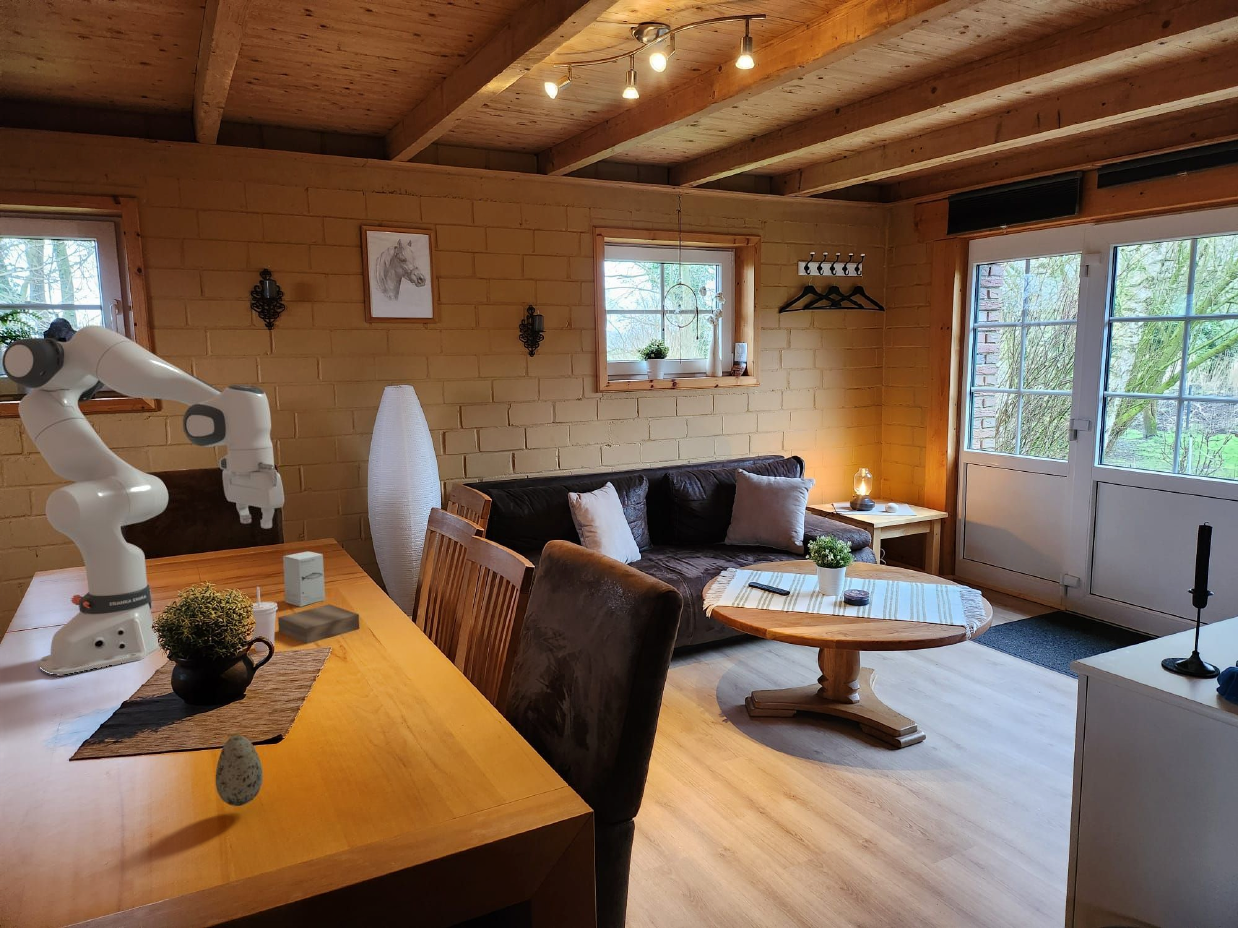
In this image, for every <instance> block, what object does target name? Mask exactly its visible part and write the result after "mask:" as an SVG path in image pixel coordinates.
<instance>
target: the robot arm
mask: <svg viewBox="0 0 1238 928" xmlns="http://www.w3.org/2000/svg"><path fill="white" fill-rule="evenodd" d="M1 361H2V362H1V363H2V369H3V371H4V374H5V376H6V377H7V378H8V379H9V380H10V381H12V382H14V383H15V384H17V385H20V386H22V387H26V388H29V389H32V391H31V392H29V393H27V394H26V395H24V397H22V399H21V400H20V402H19V404H18V409H17V410H18V413H19V417H20V419H21V421H22V423H23V426H24V429H25V430H26V432H27V434H28V436H29V438H30V440H31V441H32V443H33V444H34V446H35V447H36V448H37V450H38V452H40V454H41V456H42V457H43V459H44V460H45V461H46V463H47V465H48V466H49V467H50V469H51V470H52V471H53V473H55V475H57V476H58V477H61V478H64V479H65V480H69V481H73V482H75V483H72V484H69V485H66V486H63V487H60V488H57V489H55V490H54V491H52V493H50V494H49V496H48V499H47V501H46V504H45V515H46V519H47V521H48V523H49V524H50V526H52V528H53V529H55V530H56V531H57V532H59V533H61V534H62V535H65V536H66V537H68V538H69V539H71V540H72V541H73V543H74V544H75V545H76V547H77V549H78V550H79V552H80V554H81V556H82V559H83V562H84V567H85V574H86V579H87V588H88V592H87V593H86V594H84V595H83V596H82V595H80V594H75V595H73V596H72V597H71V598H70V599H71V600H70V602H71V603H72V604H73V605H75V606H78V609H79V612H78V613H76V615H75V616H74V617H72V618H71V619H70V620H69V621H68V622H66V623H65V624H64V625H63V626H62V627H61V628H59V629H58V630H57V631H56V632H55V633H54V635H53V636H52V639H51V644H50V654H48V655H46V656H43V657H42V658H41V659H39V662H38V666H39V665H40V667H41V668H42V669H43V670H45V671H47V672H49V673H53V674H59V675H58V676H63V675H62V674H67V673H73V674H75V673H74V672H77V671H83V670H88V671H91V670H90V669H92V668H97V669H102V668H107V667H110V666H109V665H112V666H116V665H117V666H118V665H120V664H121V663H122V664H125V663H126V664H127V663H131V662H136V661H141V660H144V659H145V658H146V657H147V656H148V655H149V654H150V653H153V652H154V651H156V650H158V649H159V648H160V647H159V646H158V639H159V637H158V638H157V637H156V634H157V633H156V634H155V633H154V632H153V631H152V628H151V627H152V624H154V621H153V617H152V611H151V609H152V601H153V600H152V593H151V592H152V591H151V588H150V587H151V586H150V584H148V581H147V579H148V577H147V568H146V556H145V553H144V551H143V550H142V548H140V547H138V546H136V545H134V544H132V543H129V542H127V541H126V539H125V538H124V535H123V534H122V529H121V528H122V527H125V526H128V525H132V524H133V525H134V524H138V523H143V522H145V521H147V520H150V519H152V518H155V517H156V516H158V515H160V514H161V513H163V512H164V511H165V510H166V508H167V506H168V503H169V491H168V489H167V487H166V485H165V483H164V482H163V480H162V479H161V478H159V477H158V476H155V475H153V474H150V473H146V472H144V471H141V470H139V469H137V468H135V467H134V466H133V465H131V464H129V463H128V462H126V461H125V460H123V459H122V458H120V457H119V456H118V455H117V454H115V453H114V452H113V451H112V450H111V449H110V448H109V447H108V446H107V445H106V443H105V442H103V440H102V439H101V437H100V436H99V435H98V433H97V432H96V431H95V429H94V428H93V426H92V425H91V423H90V422H89V420H87V418H86V417H85V415H84V414H83V412H81V410H80V407H79V403H84V402H88V401H90V400H91V399H92V398H93V396H94V395H95V394H96V393H98V392H100V391H101V390H102V389H103V387H104V386H106V387H108V388H109V389H111V390H113V391H115V392H116V393H120V394H122V395H125V396H127V397H131V398H137V399H139V398H140V399H153V400H154V399H155V400H156V399H157V400H166V401H167V400H168V401H175V402H179V403H183V404H185V405H187V406H189V407H188V408H187V410H185V412H184V415H183V419H182V428H183V431H184V434H185V437H186V438H187V440H188V441H190V442H191V443H192V444H193V445H196V446H199V447H205V448H206V447H207V448H209V447H210V448H211V447H219V446H222V447H223V446H226V447H227V448H226V449H227V450H226V451H227V453H226V454H225V455H224V456H223V457H221V458H220V459H219V468H220V470H222V486H223V492H224V496H225V498H226V500H227V501H228V502H231V503H236V504H235V505H236V506H235V507H236V510H237V513H238V514H239V520H240V523H242V524H244V525H245V524H251V523H252V514H250V511H249V506H252V507H256V508H260V510H261V513H262V519H260V527H261V528H262V529H271V528H272V527H273V518H274V514H275V509H279V508H282V507H283V506H284V504H285V495H284V494H285V493H284V487H283V481H282V477H281V475H280V473H279V472H277V470H276V469H275V458H274V447H273V442H272V439H271V430H272V419H271V411H270V405H269V400H268V399H269V398H268V397H267V395H266V392H265V391H264V390H263V389H261V387H257V386H253V385H243V384H232V385H231V384H230V385H228V386H227V387H225V388H224V390H223V391H222V390H221V389H219V388H216V387H214V386H213V385H211V384H209V383H207V382H206V381H204V380H202V379H200V378H198V377H196V376H194V375H192V374H190V373H188V372H186V371H185V370H183V369H181V368H179V367H177V366H175V365H174V364H171V363H170V362H168V361H166V360H164V359H162V358H161V357H159V356H157V355H156V354H154V353H152V352H150V351H148V350H147V349H146V348H144V347H142V346H141V345H140V344H138V343H137V342H135V341H133V340H131V339H130V338H128V337H126V336H125V335H122V334H121V333H118V332H117V331H114V330H111V329H109V328H107V327H104V326H100V325H94V324H92V325H88V326H84V327H82V328H80V329H79V330H77V331H75V333H74V334H73V335H72V337H71V339H70V340H68V341H57V339H55V338H51V337H50V338H48V337H47V338H46V337H45V338H43V337H41V338H40V337H32V338H31V337H30V338H21V339H17V340H15V341H13V342H12V343H9V345H8V346H7V347H6V348H5V351H4V353H3V355H2V359H1ZM122 664H121V665H122ZM106 666H107V667H106ZM101 667H102V668H101ZM83 672H84V671H83Z"/></svg>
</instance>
